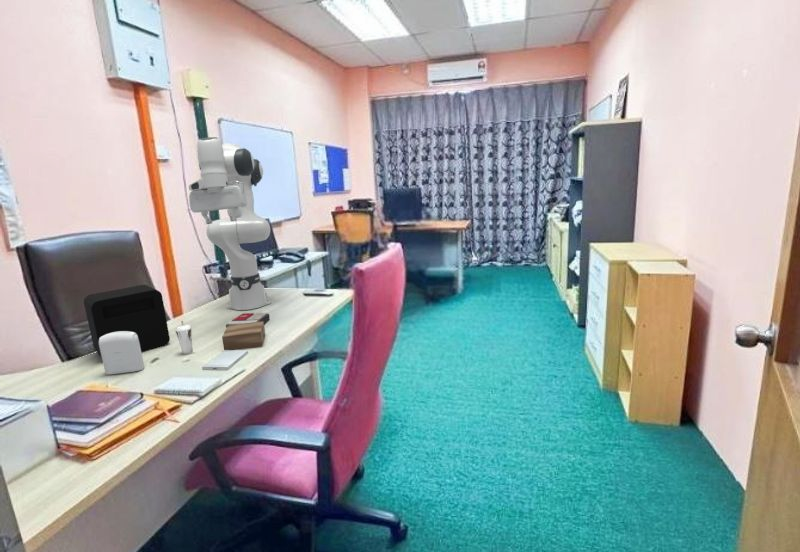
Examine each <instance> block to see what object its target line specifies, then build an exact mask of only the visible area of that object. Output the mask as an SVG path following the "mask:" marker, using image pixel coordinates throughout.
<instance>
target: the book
mask: <svg viewBox="0 0 800 552" xmlns="http://www.w3.org/2000/svg"><path fill="white" fill-rule="evenodd" d="M260 321H264V326H265V325H266V324H267V323H269V321H270V313H268V312H253V313H252V312H249V313H248V312H246V313H244V312H243V313H241V314H239V315H238V316H236V317H235V318H233V319H232V320H231V321H229V322H227V324H226V325H225V327H226V328H227V326H228V325H235V324H243V323H252V322H260ZM226 328H225V329H226Z"/></svg>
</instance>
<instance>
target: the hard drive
mask: <svg viewBox="0 0 800 552" xmlns="http://www.w3.org/2000/svg"><path fill="white" fill-rule="evenodd" d="M248 354H249V351H248V349H247V350H246V349H239V350H225V351H224V350H223V351H222V352H220V353H219V354H218V355H216V356H215V357H214V358H212V359H211V360H210V361H208V362H207V363H206V364H204V365H203V366H202V367H201V370H202V371H229V370H230V369H231V368H232V367H234V366H235V365H236V364H238V362H240V361H241V360H242V359H243V358H244V357H246V356H247V355H248Z"/></svg>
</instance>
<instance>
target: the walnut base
mask: <svg viewBox="0 0 800 552" xmlns="http://www.w3.org/2000/svg"><path fill="white" fill-rule="evenodd" d="M221 338H222V339H221V341H222V345H223V351H225V350H246V349H247V350H248V349H253V348H260V347H263V346H264V341H265V338H266V330H265V325H264V321H260V322H252V323H243V324H235V325H228V326H227V328H225V330H224V331H223V333H222V337H221Z"/></svg>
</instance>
